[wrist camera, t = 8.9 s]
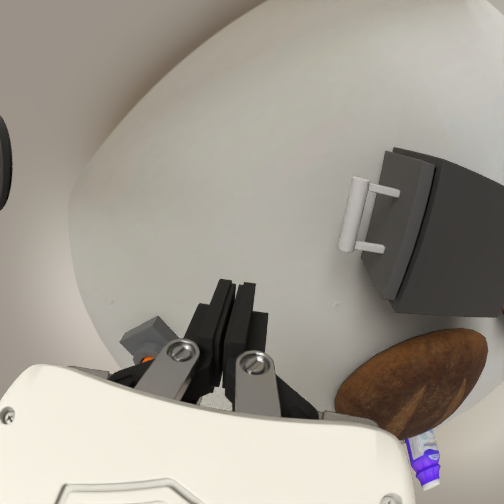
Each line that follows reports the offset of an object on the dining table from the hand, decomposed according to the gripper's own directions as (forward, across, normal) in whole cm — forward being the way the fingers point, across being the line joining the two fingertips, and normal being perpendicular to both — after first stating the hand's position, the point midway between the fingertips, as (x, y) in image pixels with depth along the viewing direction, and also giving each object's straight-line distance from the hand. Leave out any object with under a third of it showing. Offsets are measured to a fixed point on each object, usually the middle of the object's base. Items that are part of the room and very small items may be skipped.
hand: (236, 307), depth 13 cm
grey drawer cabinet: (+16, -20, -2) cm, 26 cm away
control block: (+16, +12, +22) cm, 30 cm away
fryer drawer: (+15, -16, -2) cm, 22 cm away
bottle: (+17, -41, +43) cm, 62 cm away
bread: (+16, -29, +25) cm, 42 cm away
